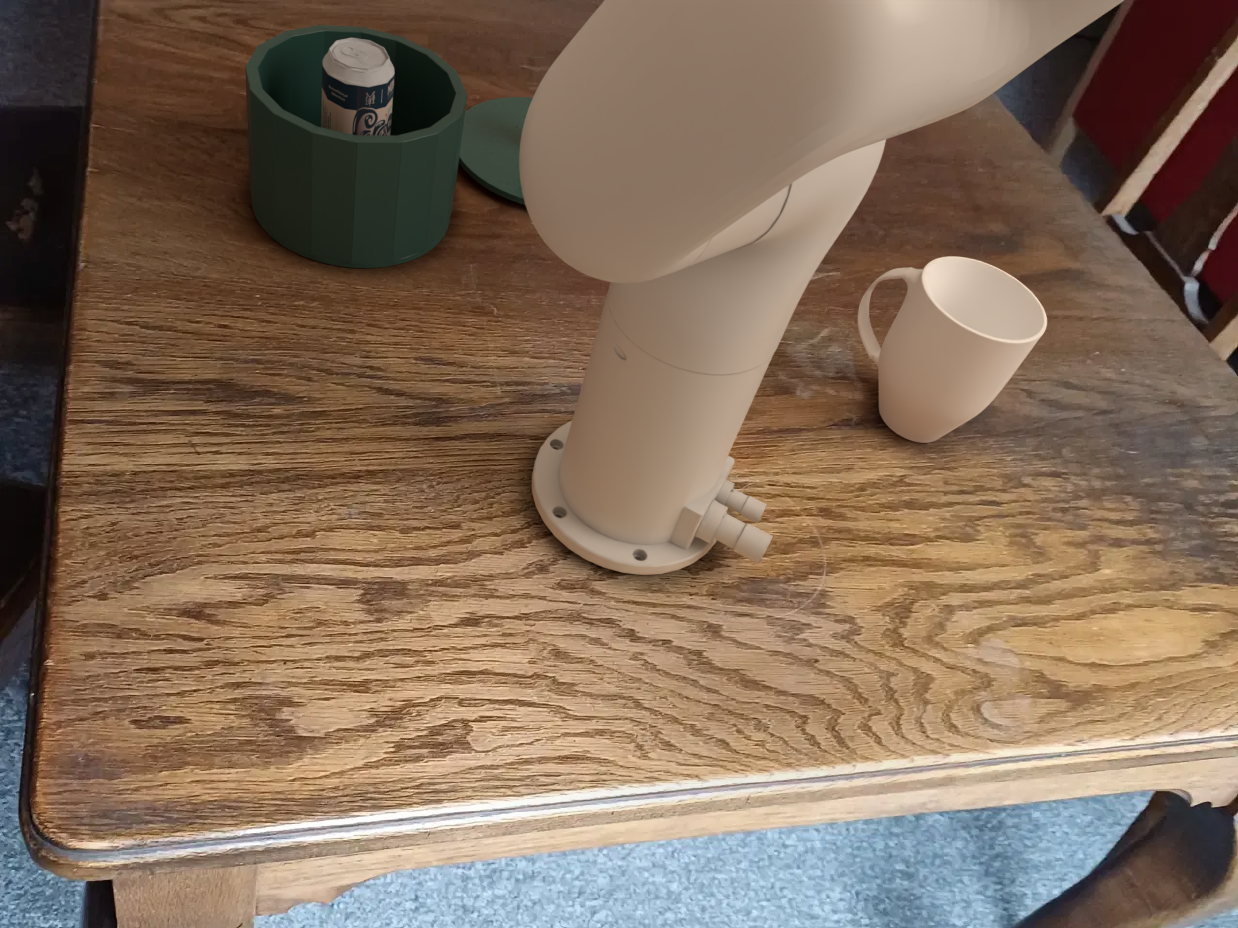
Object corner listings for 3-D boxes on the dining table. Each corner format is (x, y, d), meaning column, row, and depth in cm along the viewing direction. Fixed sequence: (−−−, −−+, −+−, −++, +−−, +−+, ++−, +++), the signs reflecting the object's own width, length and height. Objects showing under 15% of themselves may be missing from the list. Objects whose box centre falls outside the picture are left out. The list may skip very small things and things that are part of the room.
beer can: (371, 227, 80) (381, 80, 71) (309, 208, 80) (311, 58, 71) (393, 192, 83) (405, 48, 74) (334, 174, 83) (338, 27, 74)
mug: (986, 428, 81) (1069, 308, 72) (931, 483, 76) (1013, 361, 67) (861, 340, 85) (926, 215, 76) (800, 387, 79) (862, 259, 71)
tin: (484, 203, 86) (503, 84, 78) (379, 296, 76) (388, 170, 68) (330, 128, 88) (334, 4, 80) (208, 208, 78) (198, 76, 70)
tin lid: (661, 160, 95) (680, 92, 91) (582, 243, 85) (599, 171, 80) (509, 88, 98) (520, 18, 93) (414, 160, 87) (421, 86, 82)
